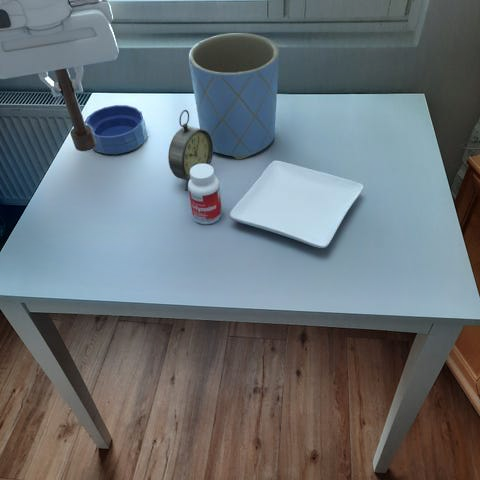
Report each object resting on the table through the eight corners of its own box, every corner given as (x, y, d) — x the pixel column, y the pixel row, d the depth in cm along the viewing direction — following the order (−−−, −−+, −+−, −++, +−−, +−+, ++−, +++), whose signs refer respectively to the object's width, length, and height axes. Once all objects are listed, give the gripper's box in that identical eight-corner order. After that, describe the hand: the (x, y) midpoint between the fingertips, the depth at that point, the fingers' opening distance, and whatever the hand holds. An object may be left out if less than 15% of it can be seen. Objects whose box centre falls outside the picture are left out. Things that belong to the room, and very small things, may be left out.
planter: (183, 142, 115) (169, 56, 99) (235, 109, 123) (231, 25, 107) (240, 172, 107) (236, 83, 91) (293, 134, 115) (297, 47, 99)
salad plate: (273, 170, 107) (273, 157, 104) (363, 196, 100) (365, 182, 97) (227, 227, 96) (226, 214, 93) (325, 260, 89) (327, 247, 86)
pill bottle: (190, 225, 97) (183, 180, 88) (194, 205, 100) (188, 160, 92) (220, 225, 96) (215, 180, 87) (223, 206, 100) (219, 161, 91)
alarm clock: (189, 196, 102) (178, 127, 89) (169, 189, 104) (155, 120, 91) (216, 169, 108) (210, 100, 95) (197, 163, 110) (188, 94, 97)
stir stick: (76, 153, 88) (39, 50, 74) (74, 141, 91) (38, 39, 76) (97, 149, 89) (65, 45, 74) (95, 137, 91) (63, 35, 77)
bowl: (93, 161, 112) (86, 142, 108) (87, 130, 120) (81, 111, 116) (152, 149, 114) (147, 130, 110) (142, 119, 122) (138, 100, 118)
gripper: (104, -15, 74) (125, 74, 85) (-31, 5, 71) (8, 95, 82) (109, -1, 70) (130, 91, 81) (-33, 21, 67) (8, 113, 78)
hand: (68, 93), depth 82 cm, fingers closed on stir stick, 2 cm apart
